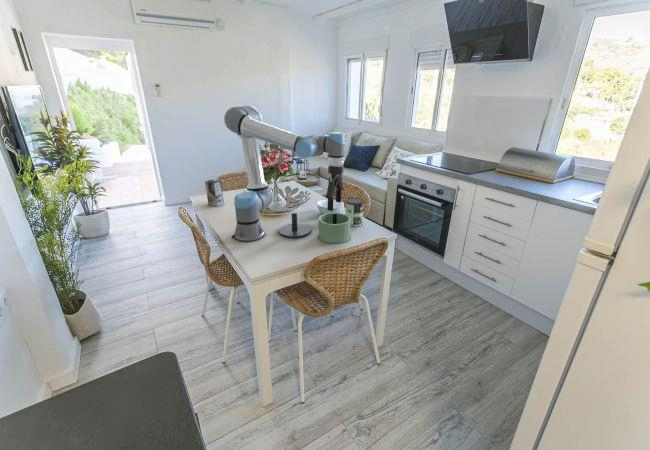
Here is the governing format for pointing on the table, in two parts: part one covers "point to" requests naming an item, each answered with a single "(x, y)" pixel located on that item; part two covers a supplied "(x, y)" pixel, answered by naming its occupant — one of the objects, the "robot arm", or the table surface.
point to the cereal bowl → (323, 206)
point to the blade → (334, 218)
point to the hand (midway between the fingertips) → (334, 206)
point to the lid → (294, 228)
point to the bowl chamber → (334, 228)
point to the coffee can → (354, 210)
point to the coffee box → (214, 192)
